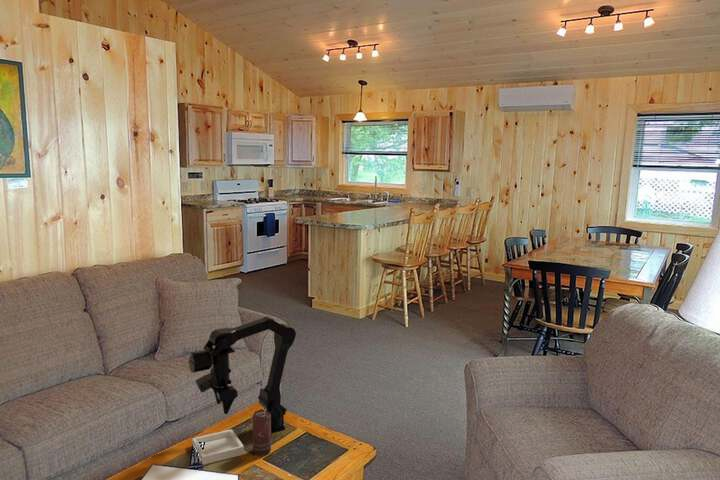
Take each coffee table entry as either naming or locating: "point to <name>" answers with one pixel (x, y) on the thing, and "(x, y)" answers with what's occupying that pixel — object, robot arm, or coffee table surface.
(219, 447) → the tray
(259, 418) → the can
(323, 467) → the coffee table surface
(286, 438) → the coffee table surface
